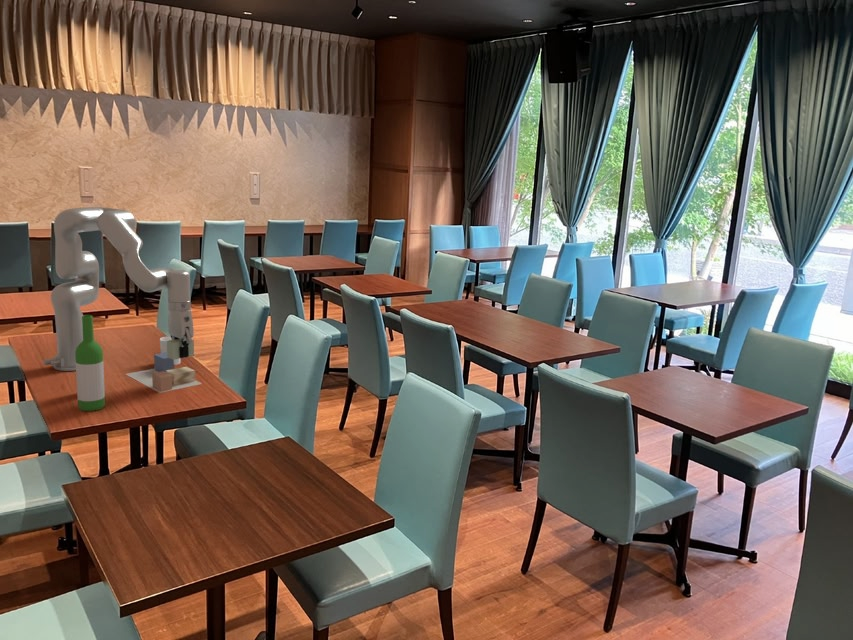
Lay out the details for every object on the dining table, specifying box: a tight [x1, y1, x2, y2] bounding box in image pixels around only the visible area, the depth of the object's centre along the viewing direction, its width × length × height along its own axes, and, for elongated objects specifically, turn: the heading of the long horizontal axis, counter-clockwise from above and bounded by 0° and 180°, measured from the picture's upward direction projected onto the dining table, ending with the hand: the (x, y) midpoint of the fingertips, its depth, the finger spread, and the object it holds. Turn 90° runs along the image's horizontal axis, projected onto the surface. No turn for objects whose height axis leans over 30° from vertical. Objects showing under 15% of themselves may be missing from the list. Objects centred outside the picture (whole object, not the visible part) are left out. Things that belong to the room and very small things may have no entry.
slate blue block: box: [153, 352, 175, 372], centre depth 256 cm, size 7×4×6 cm, turn 48°
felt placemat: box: [125, 368, 203, 394], centre depth 248 cm, size 16×26×1 cm, turn 48°
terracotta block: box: [152, 371, 172, 391], centre depth 238 cm, size 4×6×5 cm, turn 48°
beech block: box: [166, 366, 196, 385], centre depth 246 cm, size 8×6×4 cm
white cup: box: [159, 335, 182, 366], centre depth 266 cm, size 8×8×10 cm
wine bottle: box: [75, 314, 106, 412], centre depth 214 cm, size 8×8×30 cm
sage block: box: [167, 338, 195, 360], centre depth 244 cm, size 8×4×6 cm, turn 138°
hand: (180, 355), depth 244 cm, fingers closed on sage block, 4 cm apart
